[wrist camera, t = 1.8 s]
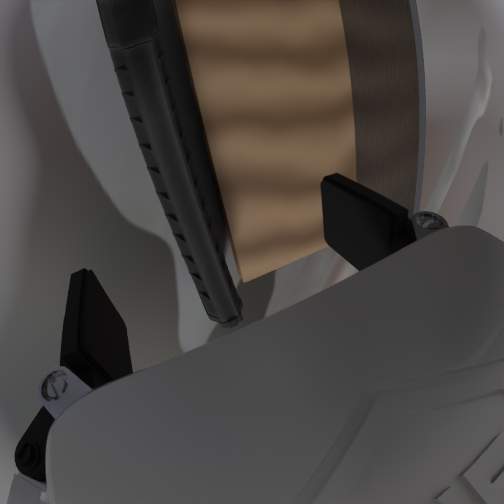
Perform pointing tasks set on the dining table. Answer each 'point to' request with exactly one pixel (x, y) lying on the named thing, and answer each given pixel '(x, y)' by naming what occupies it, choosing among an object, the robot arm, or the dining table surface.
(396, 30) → the shelf wall
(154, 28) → the magazine
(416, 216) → the robot arm
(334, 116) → the shelf board
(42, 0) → the dining table surface
